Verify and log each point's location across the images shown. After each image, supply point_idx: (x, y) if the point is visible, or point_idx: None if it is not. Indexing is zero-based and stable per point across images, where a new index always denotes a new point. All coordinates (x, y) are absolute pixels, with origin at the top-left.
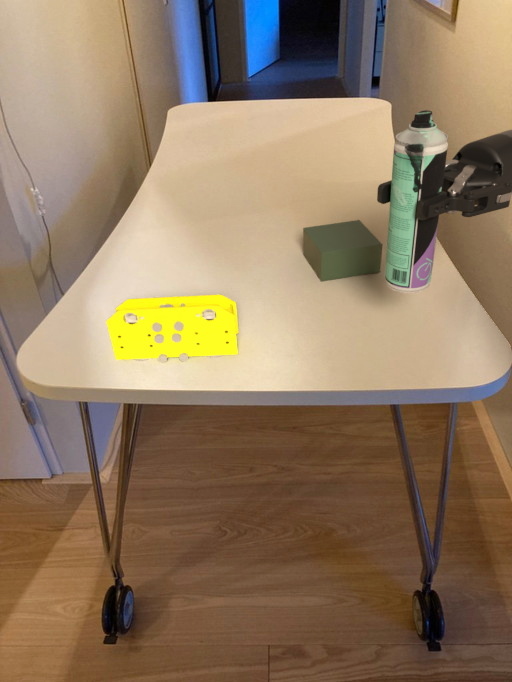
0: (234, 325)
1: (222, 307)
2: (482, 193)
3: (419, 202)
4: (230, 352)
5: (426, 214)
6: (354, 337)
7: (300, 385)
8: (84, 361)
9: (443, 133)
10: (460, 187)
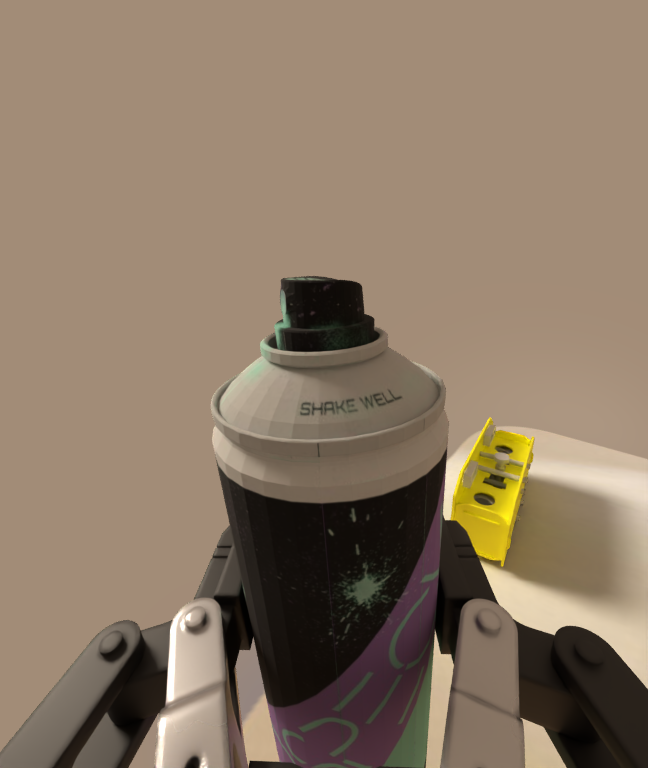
0: (452, 508)
1: (459, 478)
2: (53, 687)
3: None
4: None
5: None
6: (430, 758)
7: None
8: None
9: (247, 408)
10: (177, 672)
